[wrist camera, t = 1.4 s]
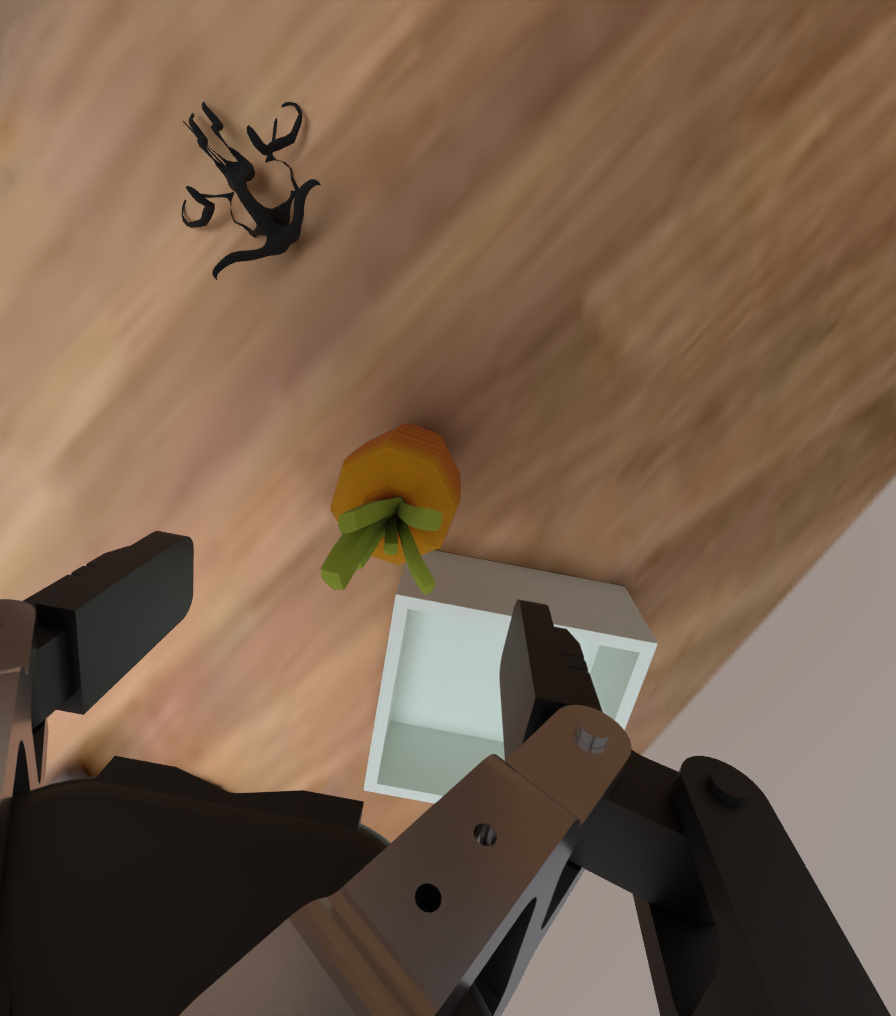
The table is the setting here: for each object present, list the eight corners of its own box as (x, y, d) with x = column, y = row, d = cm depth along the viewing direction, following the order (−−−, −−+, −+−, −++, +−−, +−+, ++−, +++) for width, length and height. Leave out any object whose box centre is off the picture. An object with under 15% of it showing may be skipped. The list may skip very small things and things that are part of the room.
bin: (410, 545, 31) (395, 594, 25) (624, 586, 31) (657, 643, 25) (381, 716, 35) (363, 790, 29) (568, 751, 35) (585, 831, 30)
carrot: (464, 399, 27) (449, 472, 13) (467, 485, 29) (458, 631, 15) (375, 403, 28) (269, 478, 14) (383, 488, 29) (297, 633, 15)
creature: (167, 183, 26) (253, 313, 26) (72, 121, 21) (180, 284, 21) (278, 72, 24) (369, 213, 24) (204, -27, 19) (322, 153, 19)
